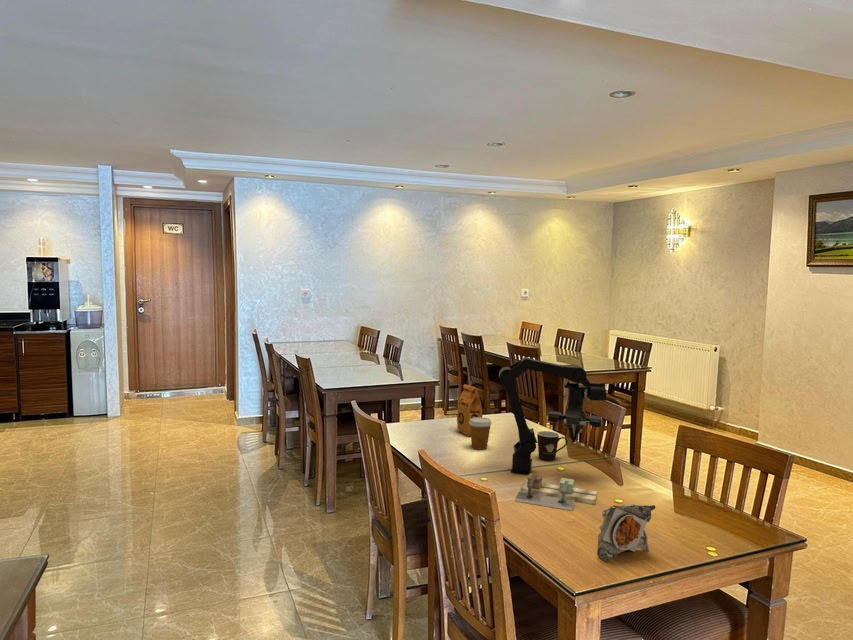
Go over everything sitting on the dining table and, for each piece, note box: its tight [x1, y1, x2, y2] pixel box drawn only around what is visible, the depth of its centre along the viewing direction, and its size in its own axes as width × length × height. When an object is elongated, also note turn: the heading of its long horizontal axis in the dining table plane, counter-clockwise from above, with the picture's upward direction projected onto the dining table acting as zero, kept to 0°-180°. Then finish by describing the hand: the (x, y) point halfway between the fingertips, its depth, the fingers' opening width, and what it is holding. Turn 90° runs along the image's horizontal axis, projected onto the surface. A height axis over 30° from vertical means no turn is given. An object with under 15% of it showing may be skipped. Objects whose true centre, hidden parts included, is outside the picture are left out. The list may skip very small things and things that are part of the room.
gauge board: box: [519, 472, 598, 505], centre depth 184 cm, size 24×14×5 cm, turn 69°
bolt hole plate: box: [514, 491, 576, 512], centre depth 180 cm, size 18×6×1 cm, turn 69°
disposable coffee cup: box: [469, 416, 492, 451], centre depth 235 cm, size 10×10×12 cm
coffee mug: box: [536, 430, 569, 462], centre depth 223 cm, size 12×9×10 cm
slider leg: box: [559, 477, 575, 501], centre depth 182 cm, size 4×12×3 cm, turn 159°
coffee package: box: [456, 383, 483, 438], centre depth 256 cm, size 10×12×22 cm
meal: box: [596, 503, 656, 564], centre depth 146 cm, size 15×4×13 cm, turn 113°
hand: (573, 442), depth 206 cm, fingers closed
